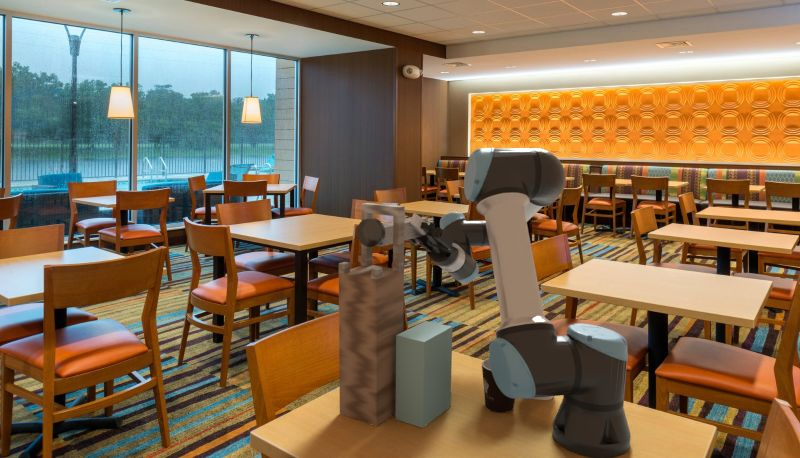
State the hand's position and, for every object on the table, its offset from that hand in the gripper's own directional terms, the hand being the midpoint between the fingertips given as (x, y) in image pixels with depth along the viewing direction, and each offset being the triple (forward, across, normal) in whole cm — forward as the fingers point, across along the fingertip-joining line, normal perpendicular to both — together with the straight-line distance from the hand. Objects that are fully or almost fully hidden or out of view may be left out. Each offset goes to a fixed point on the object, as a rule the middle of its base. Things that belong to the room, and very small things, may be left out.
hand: (404, 217), depth 137 cm
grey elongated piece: (+1, 0, -6) cm, 6 cm away
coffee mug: (-27, -23, -33) cm, 48 cm away
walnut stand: (-9, -1, -43) cm, 44 cm away
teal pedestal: (-14, -11, -40) cm, 44 cm away
